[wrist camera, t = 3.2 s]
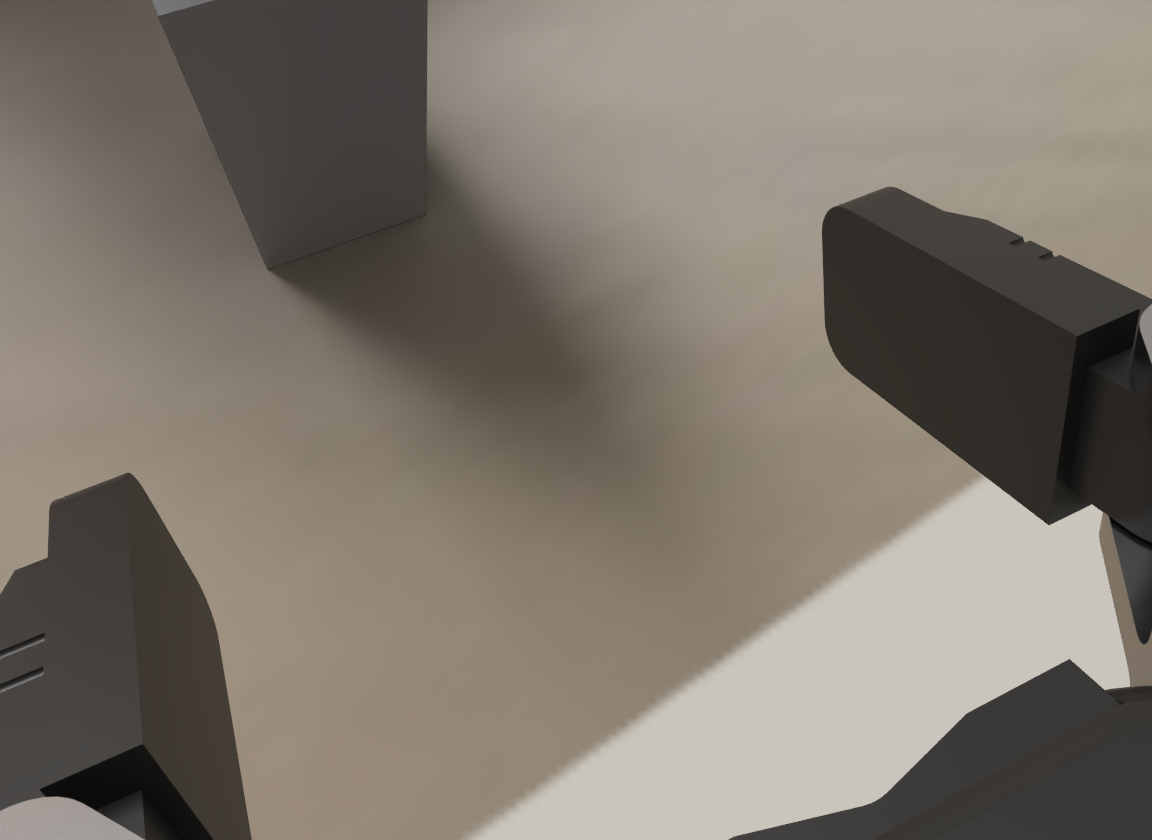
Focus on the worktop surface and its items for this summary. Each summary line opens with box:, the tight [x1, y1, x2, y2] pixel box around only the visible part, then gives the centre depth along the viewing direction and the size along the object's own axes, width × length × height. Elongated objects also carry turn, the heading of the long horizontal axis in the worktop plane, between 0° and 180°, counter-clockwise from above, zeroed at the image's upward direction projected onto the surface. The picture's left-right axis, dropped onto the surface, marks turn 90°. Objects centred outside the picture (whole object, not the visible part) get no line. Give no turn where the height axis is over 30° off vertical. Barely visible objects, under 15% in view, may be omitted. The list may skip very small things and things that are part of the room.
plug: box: [152, 0, 427, 269], centre depth 20 cm, size 4×4×13 cm
